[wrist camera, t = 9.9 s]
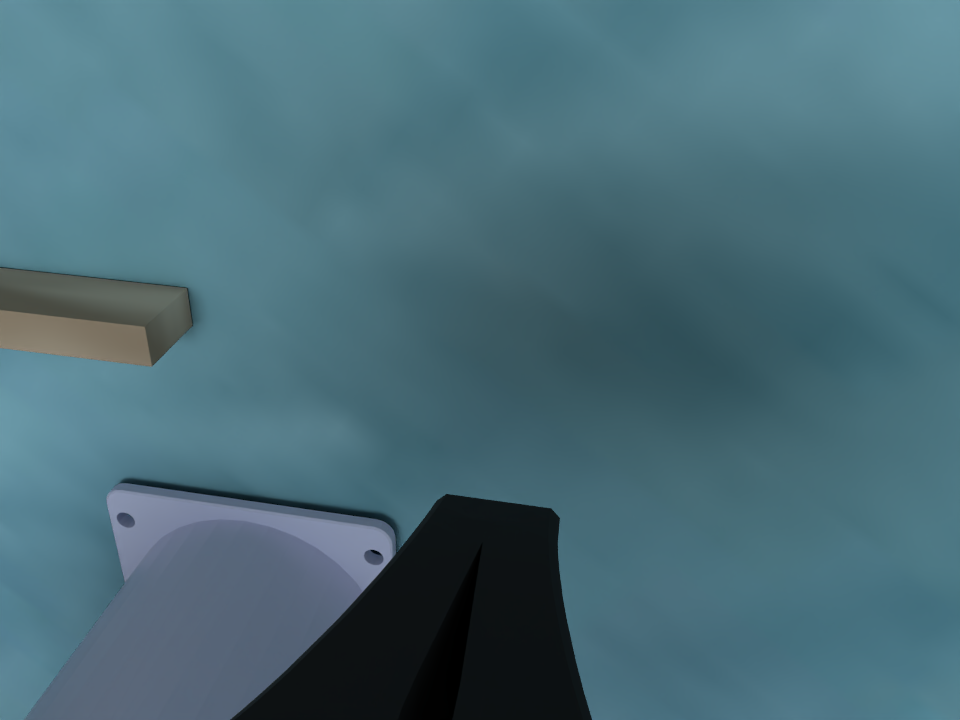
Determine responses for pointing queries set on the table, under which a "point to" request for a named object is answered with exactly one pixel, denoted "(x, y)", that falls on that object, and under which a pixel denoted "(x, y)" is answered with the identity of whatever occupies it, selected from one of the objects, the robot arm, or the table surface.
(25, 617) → the table surface
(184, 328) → the open wooden frame
